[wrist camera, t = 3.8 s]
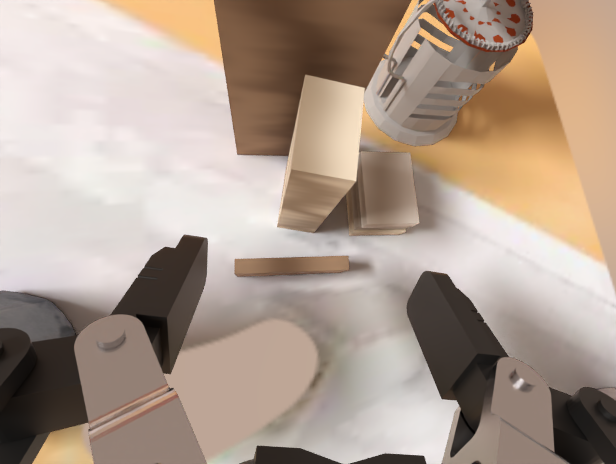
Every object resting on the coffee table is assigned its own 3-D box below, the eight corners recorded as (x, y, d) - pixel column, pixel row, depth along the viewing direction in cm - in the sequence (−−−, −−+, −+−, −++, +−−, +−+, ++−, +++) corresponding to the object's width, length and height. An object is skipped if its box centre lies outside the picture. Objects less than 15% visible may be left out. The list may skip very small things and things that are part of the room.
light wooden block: (320, 176, 25) (364, 87, 15) (313, 232, 24) (356, 181, 14) (285, 169, 25) (305, 74, 14) (277, 227, 24) (291, 169, 13)
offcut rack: (330, 141, 26) (432, -85, 11) (340, 272, 24) (488, 223, 8) (237, 137, 25) (201, -125, 10) (237, 276, 22) (188, 226, 7)
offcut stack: (391, 168, 27) (411, 149, 23) (399, 234, 25) (421, 224, 22) (343, 167, 26) (356, 147, 22) (349, 235, 25) (364, 225, 21)
